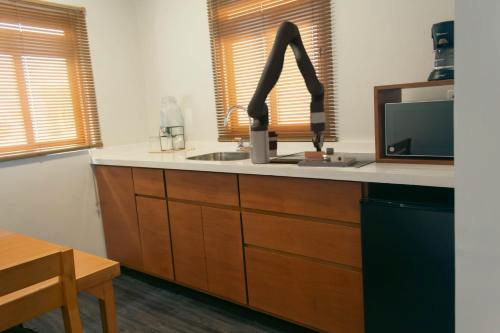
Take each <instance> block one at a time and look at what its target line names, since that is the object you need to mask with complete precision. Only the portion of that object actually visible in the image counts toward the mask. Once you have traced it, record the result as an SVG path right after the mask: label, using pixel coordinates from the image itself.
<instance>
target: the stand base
mask: <svg viewBox="0 0 500 333" xmlns="http://www.w3.org/2000/svg"><path fill="white" fill-rule="evenodd" d="M297 162H298V163H297V167H320V168H322V167H325V168H326V167H328V168H329V167H334V168H335V167H336V168H337V167H338V168H339V167H340V168H341V167H342V168H348V167H349V166H351V165H352V164H354V163H357V157H356V156H354V157H353V156H352V157H351V156H350V157H346V156H345V154H339V155H331V159H329V160H327V159H305V158H304V159H303V160H301V161H297Z"/></svg>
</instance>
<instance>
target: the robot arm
mask: <svg viewBox="0 0 500 333" xmlns="http://www.w3.org/2000/svg"><path fill="white" fill-rule="evenodd" d="M288 47H290V49H291V50H292V53H293V55H294V59H295V63H296V65H297V68H298V71H299V72H300V74H301V76H302V78H303V81H304V85H305V87H306V90H307V91H308V93H309V94H310V99H311V100H310V102H309V103H310V104H309V112H310V113H309V114H310V115H309V122H310V123H309V125H310V126H309V127H310V132H313V138H312V139H311V141H312V144H313V147H314V148H315V150H316V151H322V148H323V147H324V143H325V136H324V134H323V132H325V131H326V129H327V128H326V113H325V85H324V84H323V83H322V82H321V81H320V80H319V77H318V76H317V71H316V68H315V66H314V64H313V62H312V61H311V58H310V56H309V55H308V52H307V50H306V48H305V45H304V43H303V39H302V36H301V33H300V30H299V26H298V25H297V24H296V23H294V22H291V21H289V20H284V21H282V22H281V23H279V25H278V28H277V30H276V33H275V38H274V41H273V44H272V48H271V50H270V52H269V54H268V57H267V60H266V62H265V64H264V67H263V70H262V73H261V75H260V78H259V80H258V83H257V84H256V88H255V90H254V92H253V95H252V97H251V99H250V101H249V103H248V104H247V108H246V110H247V111H246V112H247V115H248V117H250V118H251V119H253V120H252V124H251V126H250V136H251V137H250V138H251V145H250V158H251V164H267V163H270V162H271V161H270V160H271V157H270V155H269V139H268V132H269V123H270V116H269V115H270V114H269V113H270V112H269V111H270V110H269V106H268V104H267V103H266V101H267V98H268V96H269V94H270V93H271V92H272V90H273V89H274V88H275V86H276V85H277V83H278V82H279V80H280V78H281V74H282V72H283V69H284V64H285V56H286V52H287V49H288Z"/></svg>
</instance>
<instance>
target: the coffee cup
mask: <svg viewBox="0 0 500 333" xmlns="http://www.w3.org/2000/svg"><path fill="white" fill-rule="evenodd" d="M278 137H279V134H278V133H276V131H271V130H270V131H269V130H268V139H269V155H270V158H276V157H277V156H278Z"/></svg>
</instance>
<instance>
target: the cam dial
mask: <svg viewBox="0 0 500 333" xmlns="http://www.w3.org/2000/svg"><path fill="white" fill-rule="evenodd" d="M325 152H326V153H325ZM331 155H340V154H339V153H338V152H337V153H336V152H335V149H334V147H326V151H325V150H321V151H315V150H313V151H312V150H310V151H304V160H305V159H327V160H329V159H331Z"/></svg>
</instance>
